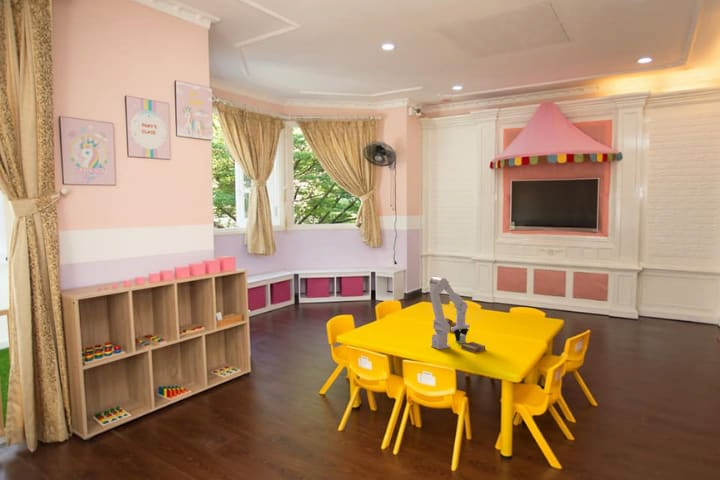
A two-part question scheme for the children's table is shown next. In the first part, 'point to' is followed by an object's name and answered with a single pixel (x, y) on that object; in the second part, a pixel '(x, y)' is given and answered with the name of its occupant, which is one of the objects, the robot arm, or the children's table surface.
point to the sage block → (462, 339)
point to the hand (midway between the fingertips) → (460, 340)
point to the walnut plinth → (473, 347)
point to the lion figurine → (451, 323)
